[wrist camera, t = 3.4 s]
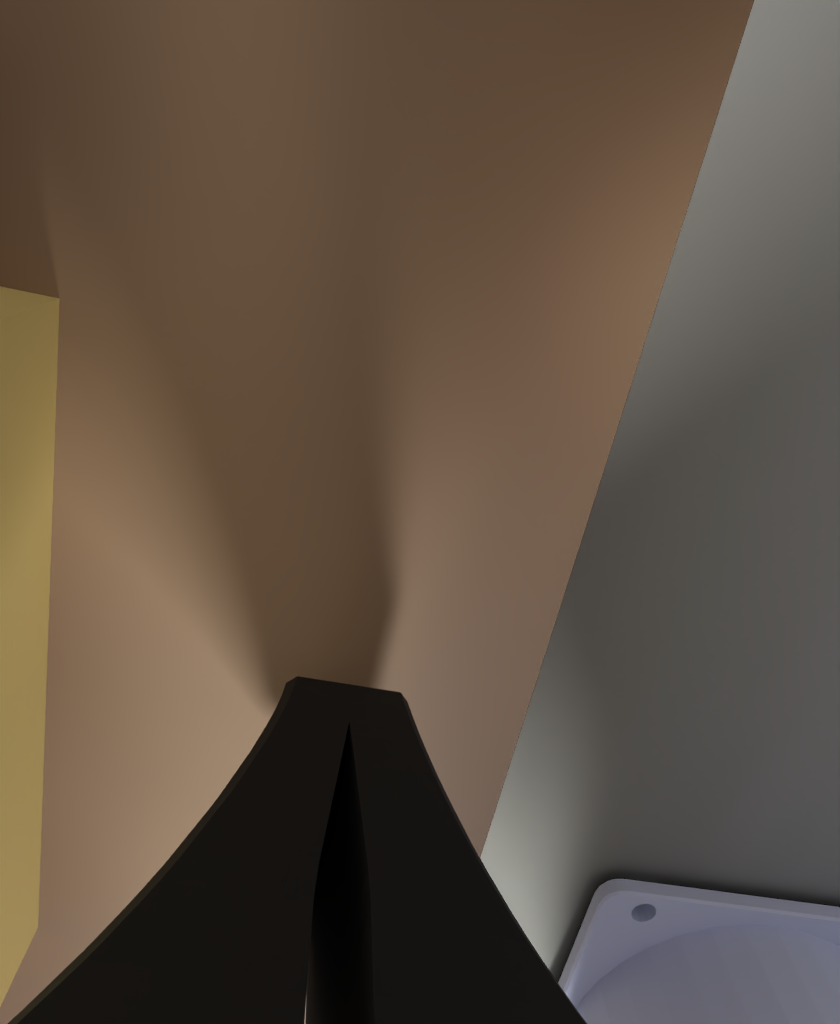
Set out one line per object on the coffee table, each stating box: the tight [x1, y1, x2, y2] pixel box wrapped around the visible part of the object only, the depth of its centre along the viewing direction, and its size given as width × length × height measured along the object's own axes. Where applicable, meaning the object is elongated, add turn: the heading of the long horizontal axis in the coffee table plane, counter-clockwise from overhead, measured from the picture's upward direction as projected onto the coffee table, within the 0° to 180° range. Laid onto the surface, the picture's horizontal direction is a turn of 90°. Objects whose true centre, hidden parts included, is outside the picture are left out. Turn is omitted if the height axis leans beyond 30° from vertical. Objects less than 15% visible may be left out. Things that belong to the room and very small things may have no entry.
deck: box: [0, 0, 754, 1024], centre depth 12 cm, size 14×20×4 cm
